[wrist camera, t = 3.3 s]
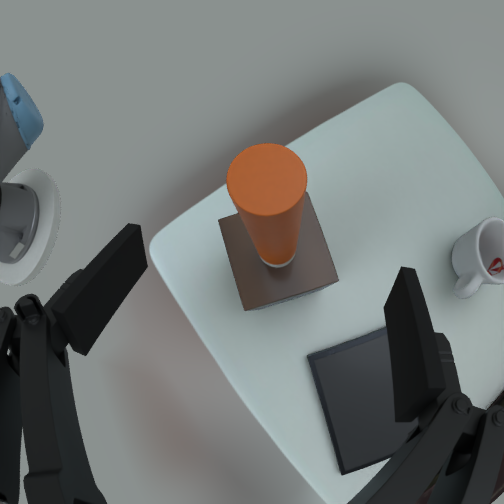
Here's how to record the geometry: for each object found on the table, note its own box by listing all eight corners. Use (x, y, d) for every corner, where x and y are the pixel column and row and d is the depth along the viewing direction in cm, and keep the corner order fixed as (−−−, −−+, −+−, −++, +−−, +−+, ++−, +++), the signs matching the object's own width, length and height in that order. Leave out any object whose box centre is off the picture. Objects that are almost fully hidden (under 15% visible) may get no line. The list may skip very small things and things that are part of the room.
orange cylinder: (265, 272, 24) (238, 226, 11) (254, 237, 25) (217, 156, 11) (300, 261, 24) (319, 201, 11) (289, 226, 25) (290, 134, 11)
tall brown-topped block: (257, 310, 36) (244, 311, 24) (238, 247, 37) (217, 219, 26) (321, 289, 35) (339, 280, 24) (300, 227, 37) (307, 191, 25)
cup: (459, 317, 32) (493, 317, 25) (423, 278, 34) (453, 270, 26) (493, 258, 33) (526, 248, 25) (461, 220, 35) (491, 202, 27)
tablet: (340, 472, 30) (341, 476, 29) (306, 355, 34) (307, 356, 33) (421, 439, 30) (425, 442, 29) (397, 321, 33) (400, 322, 32)
